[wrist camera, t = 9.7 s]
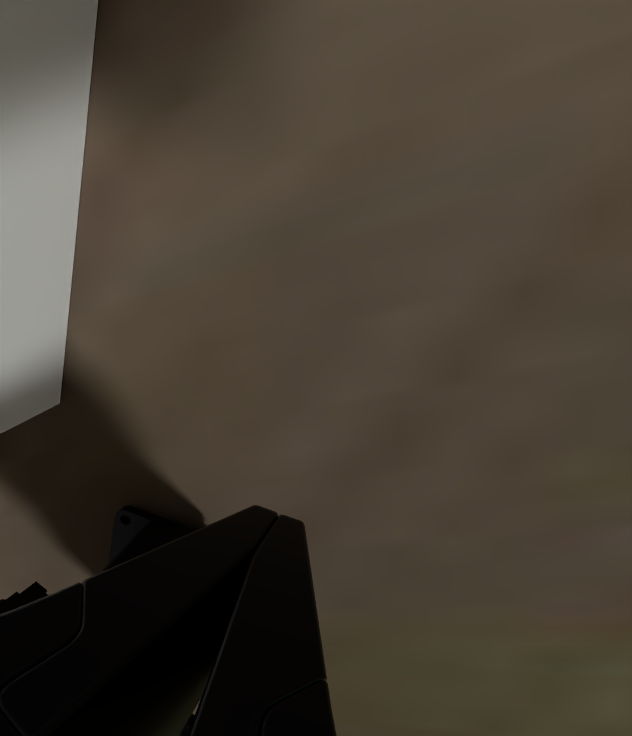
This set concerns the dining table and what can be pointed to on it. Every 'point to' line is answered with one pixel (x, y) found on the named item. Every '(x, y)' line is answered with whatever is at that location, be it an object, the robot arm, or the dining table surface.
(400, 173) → the dining table surface
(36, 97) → the pale slab
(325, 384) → the dining table surface
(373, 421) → the dining table surface
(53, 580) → the dining table surface
